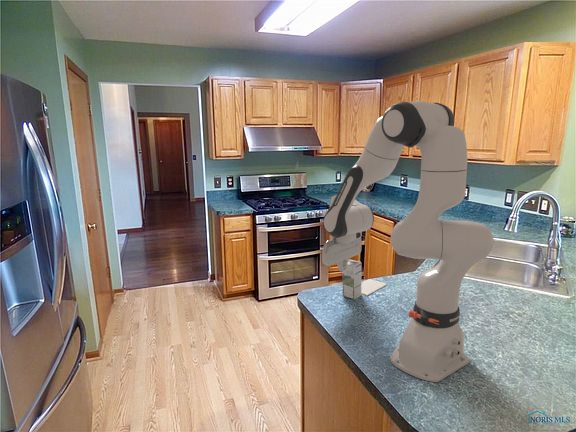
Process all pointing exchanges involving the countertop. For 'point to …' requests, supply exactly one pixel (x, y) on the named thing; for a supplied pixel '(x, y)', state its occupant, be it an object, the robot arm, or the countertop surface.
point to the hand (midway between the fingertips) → (342, 270)
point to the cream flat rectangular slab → (371, 286)
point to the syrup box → (352, 280)
